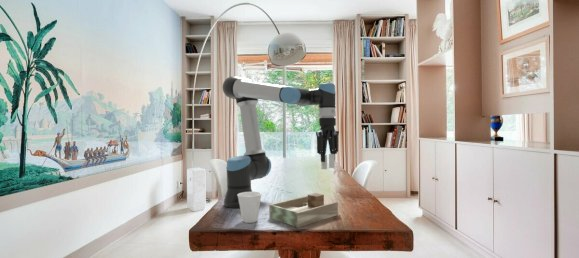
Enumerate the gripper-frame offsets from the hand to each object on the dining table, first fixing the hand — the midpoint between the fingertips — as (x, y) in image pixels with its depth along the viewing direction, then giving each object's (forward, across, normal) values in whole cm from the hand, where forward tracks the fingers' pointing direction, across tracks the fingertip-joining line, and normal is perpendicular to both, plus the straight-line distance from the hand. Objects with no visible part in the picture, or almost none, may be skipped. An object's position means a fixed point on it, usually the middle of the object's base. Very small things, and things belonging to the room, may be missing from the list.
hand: (328, 168), depth 145 cm
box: (+19, -16, 0) cm, 25 cm away
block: (+16, -8, 0) cm, 18 cm away
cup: (+19, -36, +11) cm, 42 cm away
